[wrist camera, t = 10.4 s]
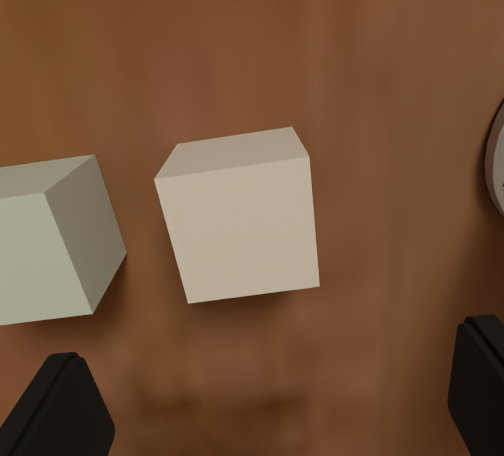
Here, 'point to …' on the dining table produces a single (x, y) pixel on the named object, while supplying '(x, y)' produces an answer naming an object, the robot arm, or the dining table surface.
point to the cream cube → (240, 215)
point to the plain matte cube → (55, 239)
